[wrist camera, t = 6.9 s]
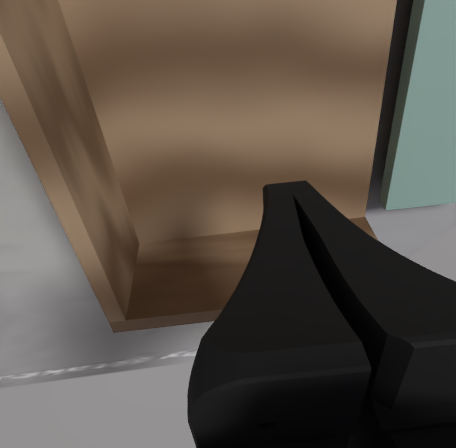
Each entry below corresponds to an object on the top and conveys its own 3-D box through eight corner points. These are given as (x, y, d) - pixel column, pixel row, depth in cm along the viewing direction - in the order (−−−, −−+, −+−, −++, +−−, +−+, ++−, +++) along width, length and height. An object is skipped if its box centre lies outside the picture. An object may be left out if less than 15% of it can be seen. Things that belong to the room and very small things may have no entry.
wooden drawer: (355, 212, 24) (401, 299, 19) (132, 238, 24) (113, 332, 19) (422, -319, 12) (623, -528, 6) (-36, -252, 12) (-238, -395, 6)
